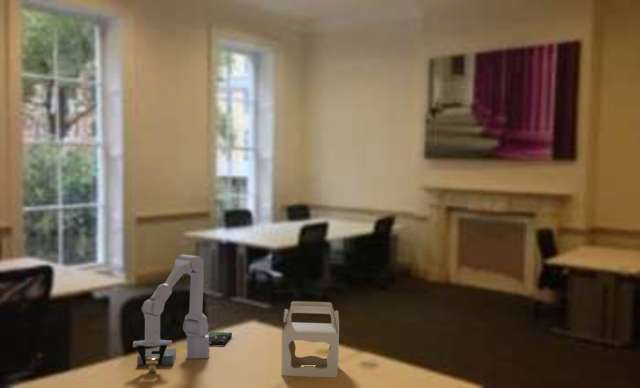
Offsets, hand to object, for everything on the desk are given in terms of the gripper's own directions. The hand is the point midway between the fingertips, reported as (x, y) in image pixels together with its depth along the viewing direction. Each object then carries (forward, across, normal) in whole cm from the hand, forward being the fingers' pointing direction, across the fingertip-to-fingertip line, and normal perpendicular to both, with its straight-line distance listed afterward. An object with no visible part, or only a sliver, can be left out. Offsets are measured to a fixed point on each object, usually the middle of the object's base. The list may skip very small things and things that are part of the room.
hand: (152, 364), depth 233 cm
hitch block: (+3, 0, +12) cm, 12 cm away
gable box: (+3, +62, -4) cm, 62 cm away
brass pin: (+3, 0, 0) cm, 3 cm away
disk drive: (+4, +23, +41) cm, 47 cm away
